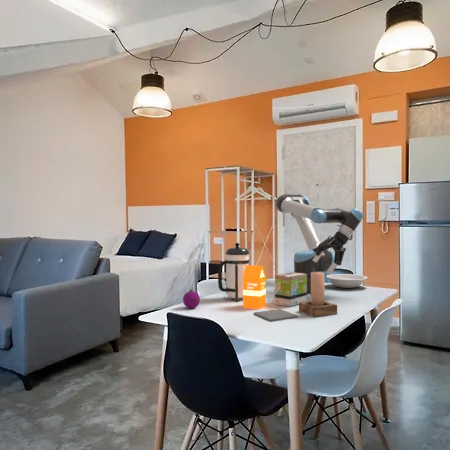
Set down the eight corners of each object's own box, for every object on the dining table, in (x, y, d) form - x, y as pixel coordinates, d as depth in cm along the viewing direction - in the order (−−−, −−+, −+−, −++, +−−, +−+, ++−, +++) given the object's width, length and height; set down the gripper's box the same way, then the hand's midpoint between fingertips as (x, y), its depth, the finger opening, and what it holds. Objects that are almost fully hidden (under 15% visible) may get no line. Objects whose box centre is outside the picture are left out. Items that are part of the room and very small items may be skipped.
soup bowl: (370, 291, 228) (370, 280, 228) (327, 290, 232) (327, 279, 232) (363, 284, 252) (363, 274, 251) (324, 283, 256) (324, 273, 256)
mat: (253, 314, 178) (253, 312, 178) (280, 310, 184) (280, 309, 184) (270, 321, 165) (270, 319, 165) (298, 317, 171) (298, 315, 171)
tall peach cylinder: (308, 311, 181) (308, 272, 181) (318, 310, 184) (318, 271, 183) (316, 314, 176) (316, 274, 175) (327, 313, 178) (327, 273, 178)
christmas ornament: (183, 310, 187) (183, 289, 186) (182, 306, 195) (182, 286, 194) (201, 309, 188) (200, 288, 188) (199, 305, 196) (198, 285, 196)
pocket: (298, 311, 182) (298, 302, 182) (319, 308, 188) (319, 299, 187) (315, 317, 172) (315, 307, 171) (337, 313, 177) (337, 304, 177)
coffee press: (225, 295, 220) (224, 241, 219) (253, 296, 217) (253, 241, 216) (218, 302, 203) (217, 243, 202) (249, 303, 200) (248, 243, 199)
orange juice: (249, 304, 198) (248, 264, 198) (265, 305, 194) (265, 265, 194) (243, 307, 191) (242, 266, 191) (260, 309, 187) (259, 266, 187)
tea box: (291, 307, 191) (291, 276, 191) (274, 304, 198) (273, 274, 197) (307, 302, 202) (307, 273, 202) (290, 299, 209) (290, 271, 208)
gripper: (336, 224, 204) (313, 258, 202) (359, 248, 217) (338, 280, 216) (325, 221, 211) (303, 254, 209) (349, 244, 224) (329, 275, 222)
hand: (321, 267), depth 212 cm, fingers open, 13 cm apart
